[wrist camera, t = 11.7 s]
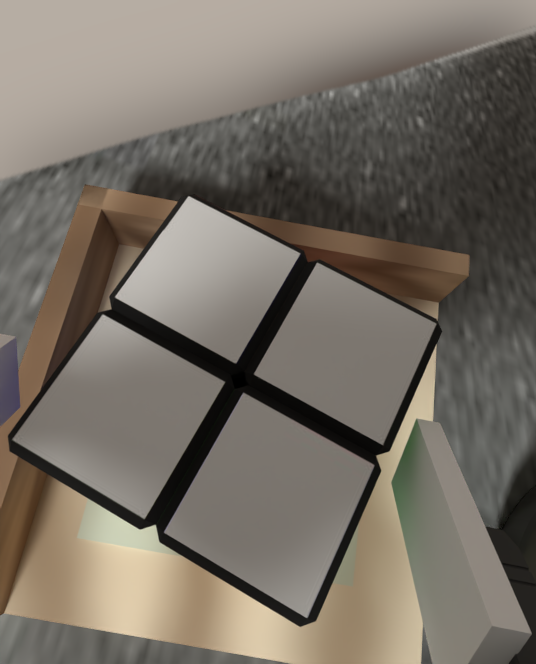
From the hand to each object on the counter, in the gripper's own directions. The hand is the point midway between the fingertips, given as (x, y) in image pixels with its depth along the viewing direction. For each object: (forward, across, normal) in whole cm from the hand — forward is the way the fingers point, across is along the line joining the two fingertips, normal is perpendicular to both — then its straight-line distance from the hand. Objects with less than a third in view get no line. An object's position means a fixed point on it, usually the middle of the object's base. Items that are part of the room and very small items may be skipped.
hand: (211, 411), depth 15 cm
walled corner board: (+7, +1, -6) cm, 10 cm away
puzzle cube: (+7, +1, -5) cm, 9 cm away
